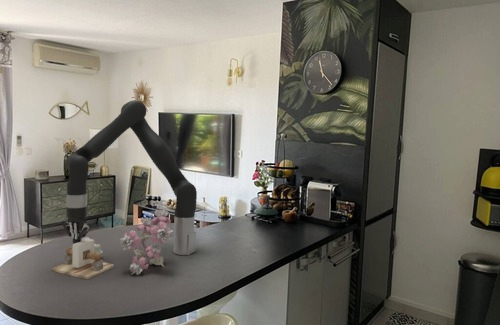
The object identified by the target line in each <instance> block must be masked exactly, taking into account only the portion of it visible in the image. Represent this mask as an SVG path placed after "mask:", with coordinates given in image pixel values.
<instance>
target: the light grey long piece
mask: <svg viewBox="0 0 500 325" xmlns="http://www.w3.org/2000/svg"><path fill="white" fill-rule="evenodd" d="M86 239H92V238H91V237H89V236H85V237H83V238H81V241H83V240H86ZM94 253H96V254H101V256H102V258H103V254H104V250H102V246H101V244H96V243H95V242H94ZM102 258H101V259H102ZM102 260H103V259H102Z"/></svg>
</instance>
